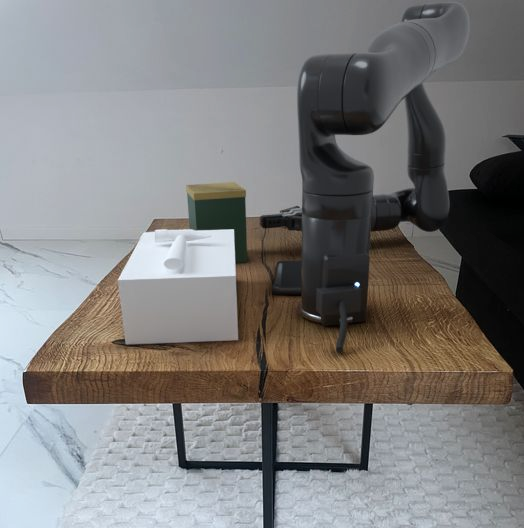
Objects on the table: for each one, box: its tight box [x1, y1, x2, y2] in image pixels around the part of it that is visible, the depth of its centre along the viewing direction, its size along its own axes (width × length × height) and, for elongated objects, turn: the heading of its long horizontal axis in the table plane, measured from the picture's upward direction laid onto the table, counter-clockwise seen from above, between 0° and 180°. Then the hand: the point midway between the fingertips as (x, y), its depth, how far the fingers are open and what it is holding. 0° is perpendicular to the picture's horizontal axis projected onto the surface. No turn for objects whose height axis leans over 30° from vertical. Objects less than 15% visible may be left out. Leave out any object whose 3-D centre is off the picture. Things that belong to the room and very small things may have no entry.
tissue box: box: [117, 228, 239, 345], centre depth 87 cm, size 14×25×11 cm, turn 3°
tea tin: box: [185, 181, 248, 264], centre depth 111 cm, size 9×9×13 cm
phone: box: [272, 260, 301, 296], centre depth 100 cm, size 8×1×15 cm
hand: (261, 222), depth 113 cm, fingers closed
